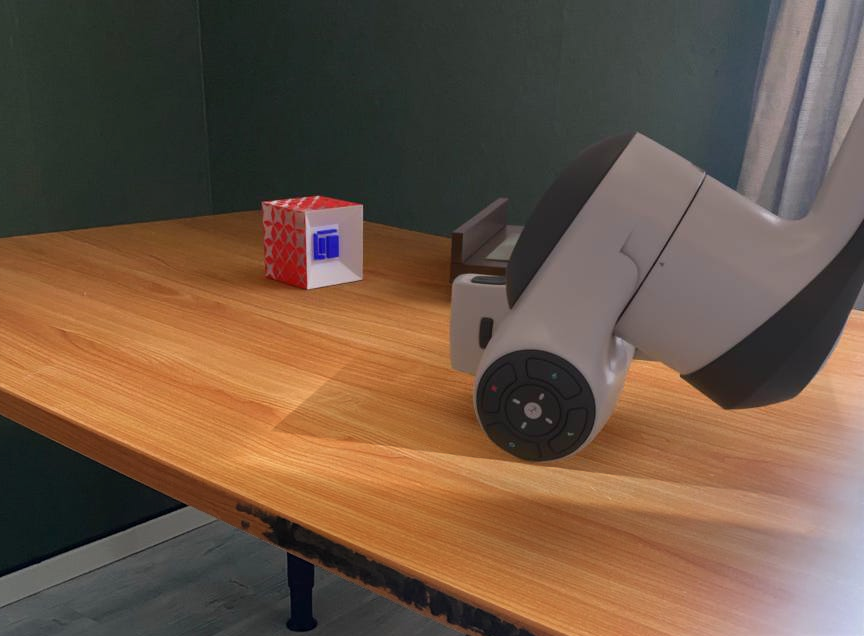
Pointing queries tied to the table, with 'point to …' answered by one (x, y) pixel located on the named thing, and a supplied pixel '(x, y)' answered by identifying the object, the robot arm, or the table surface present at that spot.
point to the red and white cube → (313, 241)
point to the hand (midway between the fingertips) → (595, 292)
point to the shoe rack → (484, 242)
